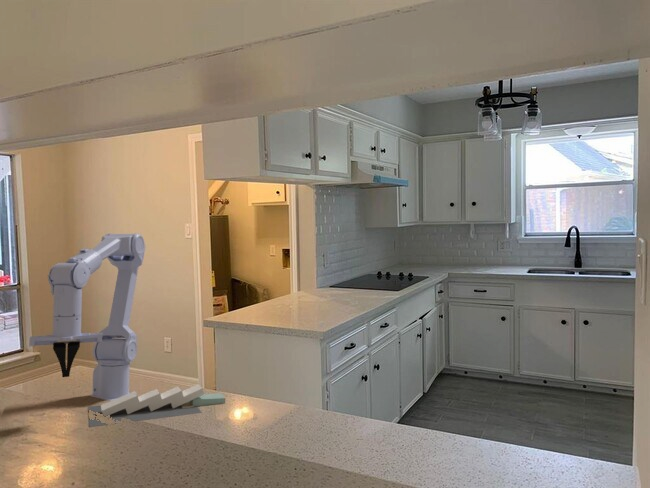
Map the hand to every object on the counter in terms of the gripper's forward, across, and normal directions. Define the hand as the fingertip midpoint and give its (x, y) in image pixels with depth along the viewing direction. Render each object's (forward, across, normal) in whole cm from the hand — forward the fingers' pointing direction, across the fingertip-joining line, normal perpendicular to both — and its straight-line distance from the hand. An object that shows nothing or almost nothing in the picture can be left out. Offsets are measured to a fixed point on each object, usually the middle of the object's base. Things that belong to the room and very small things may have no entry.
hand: (65, 376), depth 112 cm
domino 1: (+9, +8, 0) cm, 12 cm away
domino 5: (+9, +28, 0) cm, 29 cm away
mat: (+10, +17, 0) cm, 20 cm away
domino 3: (+9, +18, 0) cm, 20 cm away
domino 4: (+9, +23, 0) cm, 24 cm away
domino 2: (+9, +13, 0) cm, 15 cm away
